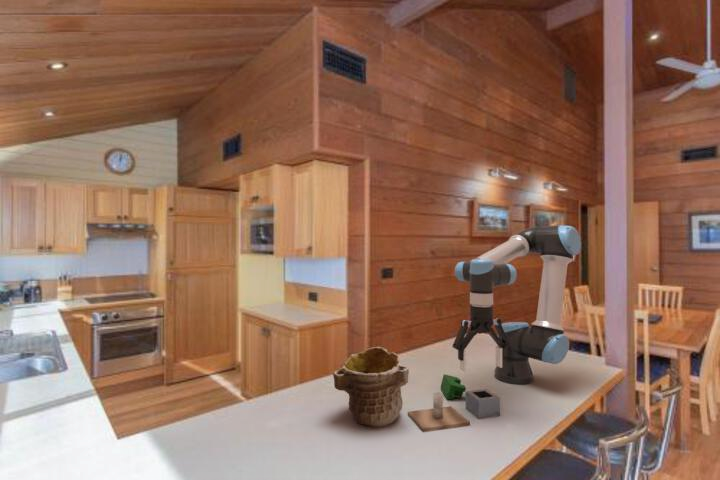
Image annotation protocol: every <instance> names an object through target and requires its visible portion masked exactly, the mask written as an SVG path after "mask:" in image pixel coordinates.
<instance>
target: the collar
mask: <svg viewBox="0 0 720 480" xmlns="http://www.w3.org/2000/svg"><path fill="white" fill-rule="evenodd" d="M465 410H467V411H468V412H469V413H470V414H471V415H473V416H474V417H476V418H477V420H481V419H482V420H483V419H487V418H494V417H495V418H496V417H501V397H500V396H498V395H497V394H495V393H494V392H492V391H491V390H489V389H487V388H481V389H473V390H472V389H471V390H465Z"/></svg>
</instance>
